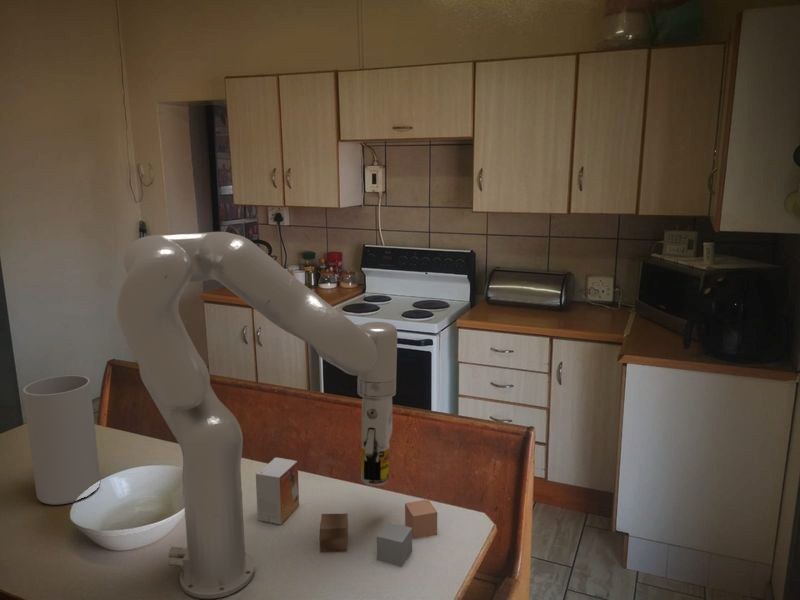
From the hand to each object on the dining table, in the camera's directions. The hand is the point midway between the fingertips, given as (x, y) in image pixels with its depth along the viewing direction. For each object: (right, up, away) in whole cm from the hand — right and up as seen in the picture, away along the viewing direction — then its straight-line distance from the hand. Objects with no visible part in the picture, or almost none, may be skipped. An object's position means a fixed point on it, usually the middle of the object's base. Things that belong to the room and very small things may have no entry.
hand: (375, 471), depth 121 cm
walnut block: (-8, -13, -5) cm, 16 cm away
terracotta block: (+9, -12, 0) cm, 15 cm away
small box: (-20, -11, +5) cm, 24 cm away
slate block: (+4, -13, -9) cm, 16 cm away
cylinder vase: (-69, -9, +14) cm, 70 cm away
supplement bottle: (0, -2, 0) cm, 2 cm away
